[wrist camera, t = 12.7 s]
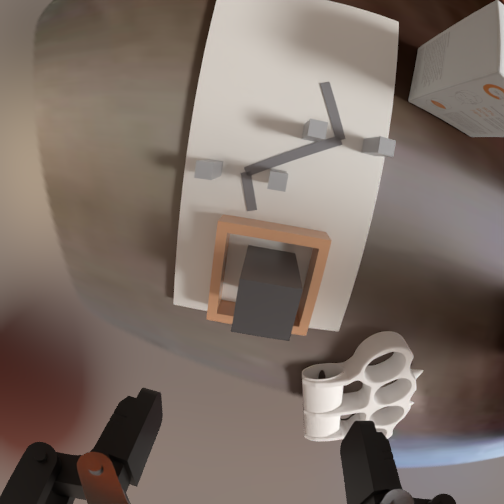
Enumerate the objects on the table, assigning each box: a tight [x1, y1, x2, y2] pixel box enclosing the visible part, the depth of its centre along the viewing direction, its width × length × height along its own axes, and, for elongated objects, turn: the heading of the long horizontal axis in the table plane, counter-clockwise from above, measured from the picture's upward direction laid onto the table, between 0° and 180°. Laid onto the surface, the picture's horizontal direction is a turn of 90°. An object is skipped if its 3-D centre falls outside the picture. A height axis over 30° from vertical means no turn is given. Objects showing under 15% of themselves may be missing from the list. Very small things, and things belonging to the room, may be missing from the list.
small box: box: [408, 0, 504, 137], centre depth 14 cm, size 8×6×13 cm
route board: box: [174, 0, 399, 331], centre depth 21 cm, size 16×30×5 cm, turn 171°
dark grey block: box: [231, 245, 303, 341], centre depth 22 cm, size 4×4×7 cm
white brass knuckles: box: [302, 331, 424, 441], centre depth 30 cm, size 3×18×15 cm
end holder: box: [207, 214, 332, 336], centre depth 24 cm, size 9×9×2 cm
